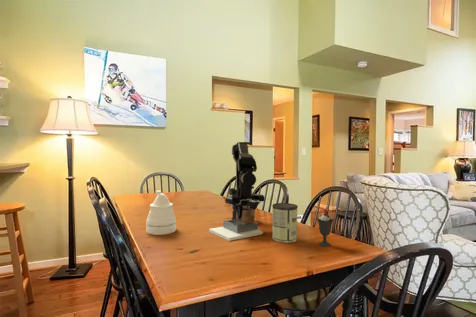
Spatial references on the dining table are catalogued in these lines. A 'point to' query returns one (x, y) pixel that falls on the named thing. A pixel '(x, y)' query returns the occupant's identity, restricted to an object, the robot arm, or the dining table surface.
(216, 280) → the dining table surface
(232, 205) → the robot arm
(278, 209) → the coffee can
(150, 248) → the dining table surface
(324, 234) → the sundae
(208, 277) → the dining table surface
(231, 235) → the base board
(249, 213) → the hollow wooden box
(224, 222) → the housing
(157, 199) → the honey pot
